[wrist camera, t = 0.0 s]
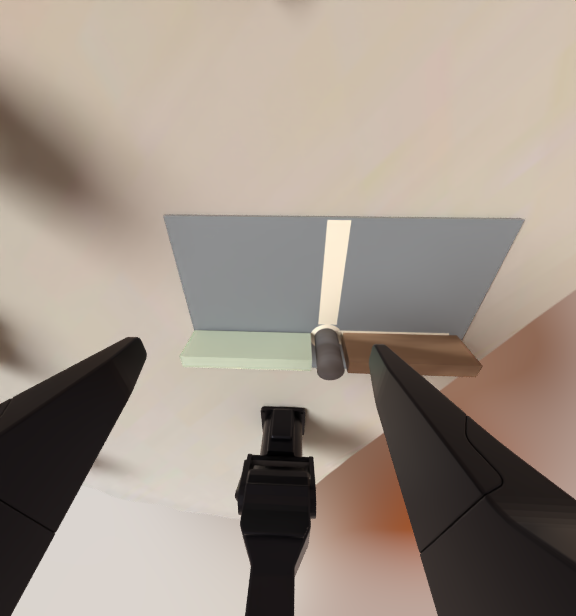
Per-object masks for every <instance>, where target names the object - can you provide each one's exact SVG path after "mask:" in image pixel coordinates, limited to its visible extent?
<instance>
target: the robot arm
mask: <svg viewBox="0 0 576 616" xmlns="http://www.w3.org/2000/svg"><path fill="white" fill-rule="evenodd" d="M146 357H147V353H146V350H145V348H144V346H143V343H142V341H141V339H140V338H138V337H127V338H125V339H123V340H121V341H119V342H117V343H115V344H113V345H111V346H109V347H107V348H106V349H104V350H102V351H100V352H98V353H96V354H94V355H92V356H90V357H88V358H87V359H85V360H83V361H81V362H79V363H77V364H75V365H73V366H71V367H69V368H68V369H66V370H64V371H62V372H60V373H58V374H56V375H54V376H52V377H50V378H49V379H47V380H45V381H43V382H41V383H39V384H37V385H35V386H33V387H31V388H30V389H28V390H26V391H24V392H22V393H20V394H18V395H16V396H14V397H13V398H12V399H8V400H7V401H5V402H3V403H1V404H0V616H11V614H12V613H13V611H14V609H15V607H16V605H17V603H18V602H19V600H20V598H21V596H22V594H23V592H24V590H25V588H26V587H27V585H28V583H29V581H30V579H31V578H32V575H33V574H34V572H35V570H36V568H37V567H38V565H39V563H40V561H41V559H42V557H43V556H44V553H45V552H46V550H47V548H48V546H49V545H50V542H51V541H52V539H53V537H54V535H55V532H56V531H57V530H58V528H59V525H60V524H61V522H62V520H63V519H64V517H65V515H66V513H67V511H68V509H69V508H70V506H71V504H72V502H73V500H74V498H75V496H76V495H77V493H78V491H79V489H80V487H81V485H82V484H83V482H84V480H85V478H86V476H87V474H88V473H89V471H90V469H91V467H92V465H93V463H94V462H95V460H96V458H97V456H98V454H99V452H100V451H101V449H102V447H103V445H104V443H105V441H106V440H107V438H108V436H109V434H110V432H111V430H112V429H113V427H114V425H115V423H116V421H117V419H118V418H119V416H120V414H121V412H122V410H123V408H124V407H125V405H126V403H127V401H128V399H129V397H130V395H131V393H132V391H133V389H134V387H135V384H136V382H137V379H138V377H139V375H140V372H141V370H142V367H143V365H144V363H145V360H146ZM369 369H370V375H371V380H372V386H373V392H374V398H375V403H376V407H377V410H378V414H379V417H380V420H381V424H382V427H383V431H384V434H385V437H386V441H387V444H388V447H389V451H390V454H391V458H392V461H393V464H394V468H395V471H396V474H397V478H398V481H399V485H400V488H401V492H402V495H403V498H404V502H405V505H406V508H407V512H408V515H409V519H410V522H411V525H412V529H413V532H414V536H415V539H416V542H417V546H418V549H419V552H420V553H421V554H420V556H421V560H422V563H423V567H424V570H425V573H426V577H427V580H428V583H429V587H430V590H431V594H432V597H433V600H434V604H435V607H436V611H437V614H438V616H576V500H575V499H574V498H572V497H571V496H570V495H569V494H567V493H566V492H565V491H563V490H562V489H561V488H559V487H558V486H557V485H555V484H554V483H553V482H551V481H550V480H548V479H547V478H546V477H545V476H543V475H542V474H541V473H539V472H538V471H537V470H535V469H534V468H533V467H532V466H530V465H529V464H527V463H526V462H525V461H524V460H522V459H521V458H520V457H518V456H517V455H516V454H514V453H513V452H512V451H511V450H509V449H508V448H507V447H505V446H504V445H503V444H501V443H500V442H499V441H498V440H496V439H495V438H494V437H493V436H492V435H490V434H489V433H488V432H487V431H486V430H484V429H483V428H482V427H481V426H480V425H478V424H477V423H476V422H475V421H474V420H473V419H471V418H470V417H469V416H466V414H465V413H464V412H463V411H462V410H461V409H460V408H459V407H457V406H456V405H455V404H454V403H453V402H452V401H450V400H449V399H448V398H447V397H446V396H445V395H443V394H442V393H441V392H440V391H439V390H438V389H436V388H435V387H434V386H433V385H432V384H431V383H429V382H428V381H427V380H426V379H425V378H424V377H422V376H421V375H420V374H419V373H418V372H417V371H415V370H414V369H413V368H412V367H411V366H410V365H408V364H407V363H406V362H405V361H404V360H403V359H401V358H400V357H399V356H398V355H397V354H396V353H394V352H393V351H392V350H391V349H390V348H389V347H387V346H386V345H384V344H374V345H373V347H372V350H371V354H370V358H369ZM261 418H262V428H263V437H262V445H261V453H260V455H252V454H248V457H247V460H245V461H244V466H243V471H242V475H241V478H240V481H239V484H238V487H237V489H236V493H235V498H236V500H237V501H238V514H239V515H241V521H240V526H241V531H242V535H243V539H244V543H245V547H246V550H247V554H248V557H249V561H250V565H251V571H250V579H249V588H248V596H247V604H246V613H245V616H294V577H295V575H296V573H297V570H298V568H299V566H300V563H301V561H302V559H303V556H304V554H305V552H306V549H307V547H308V543H309V535H310V527H311V521H310V518H311V519H315V518H316V487H315V474H314V461H313V457H310V456H309V457H302V435H304V426H305V409H303V408H277V407H262V408H261Z"/></svg>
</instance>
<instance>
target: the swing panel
mask: <svg viewBox="0 0 576 616" xmlns="http://www.w3.org/2000/svg"><path fill="white" fill-rule="evenodd" d="M180 359H181V362H182V365H183V367H197V368H229V369H261V370H293V371H311V368H312V350H311V333H282V332H244V331H206V330H194V332H193V334H192V336H191V337H190V339H189V341H188V342H187V344H186V346H185V348H184V349H183V351H182V353H181V355H180Z"/></svg>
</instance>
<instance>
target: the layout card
mask: <svg viewBox="0 0 576 616" xmlns="http://www.w3.org/2000/svg"><path fill="white" fill-rule="evenodd" d="M163 217H164V220H165V224H166V228H167V231H168V235H169V239H170V243H171V246H172V250H173V254H174V257H175V261H176V265H177V268H178V272H179V276H180V279H181V283H182V287H183V290H184V294H185V298H186V302H187V305H188V309H189V313H190V316H191V320H192V324H193V327H194V330H206V331H244V332H282V333H311V350H312V368H317V364H316V351H315V338H314V337H315V334H316V332H317V331H319V330H321V329H324V328H330V329H333V330H334V331H335V332H336V333H337V335H338V340H339V345H340V350H341V355H342V360H343V365H344V369H347V367H346V363H345V358H344V353H343V349H342V344H341V341H342V335H343V333H381V334H420V335H457V336H458V337H459V339H460V340H461V341H462V339H463V337H464V335H465V333H466V331H467V329H468V327H469V325H470V324H471V322H472V320H473V318H474V316H475V314H476V312H477V310H478V308H479V306H480V304H481V302H482V301H483V299H484V297H485V295H486V293H487V291H488V289H489V287H490V285H491V283H492V281H493V280H494V278H495V276H496V274H497V272H498V270H499V268H500V266H501V264H502V262H503V260H504V258H505V257H506V255H507V253H508V251H509V249H510V247H511V245H512V243H513V241H514V239H515V237H516V236H517V234H518V232H519V230H520V228H521V226H522V224H523V222H524V220H525V219H521V218H437V217H342V216H248V215H164V216H163Z"/></svg>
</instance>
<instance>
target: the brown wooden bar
mask: <svg viewBox="0 0 576 616" xmlns="http://www.w3.org/2000/svg"><path fill="white" fill-rule="evenodd" d="M314 338H315V351H316V364H317V373H318V375H319V376H320V377H321V378H323V379H325V380H335V379H338V378H340V377H341V376H342V375H343V374H344V365H343V360H342V355H341V350H340V345H339V340H338V335H337V333H336V332H335V331H334V330H333V329H330V328H324V329H321V330H319V331H317V332H316V334H315V337H314ZM341 344H342V349H343V353H344V358H345V363H346V367H347V372H348V373H364V374H370V369H369V358H370V354H371V350H372V347H373V345H374V344H384V345H386V346H387V347H389V348H390V349H391V350H392V351H393V352H394V353H396V354H397V355H398V356H399V357H400V358H401V359H403V360H404V361H405V362H406V363H407V364H408V365H410V366H411V367H412V368H413V369H414V370H415V371H417V372H418V373H419V374H420V375H428V376H459V377H476V376H477V374H478V373H479V371H480V370H481V368H482V365H481V364H480V362H479V361H478V360H477V359H476V358H475V356H474V355H473V354H472V353H471V352H470V350H469V349H468V348H467V347H466V346H465V345H464V343H463V342H462V341H461V340H460V339H459V337H458V336H457V335H420V334H381V333H343V335H342V341H341Z"/></svg>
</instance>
